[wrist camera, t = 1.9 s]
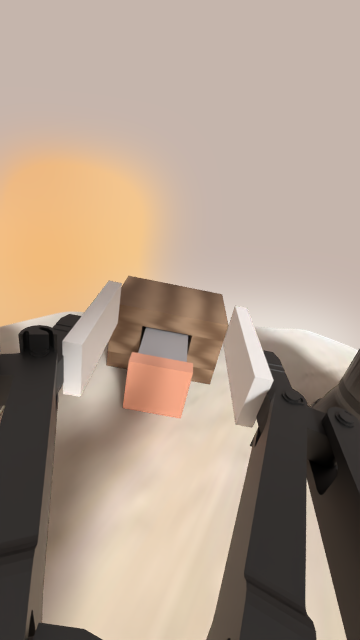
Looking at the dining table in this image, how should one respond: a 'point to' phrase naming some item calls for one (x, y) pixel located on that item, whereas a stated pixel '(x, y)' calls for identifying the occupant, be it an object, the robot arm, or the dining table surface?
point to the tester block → (169, 322)
